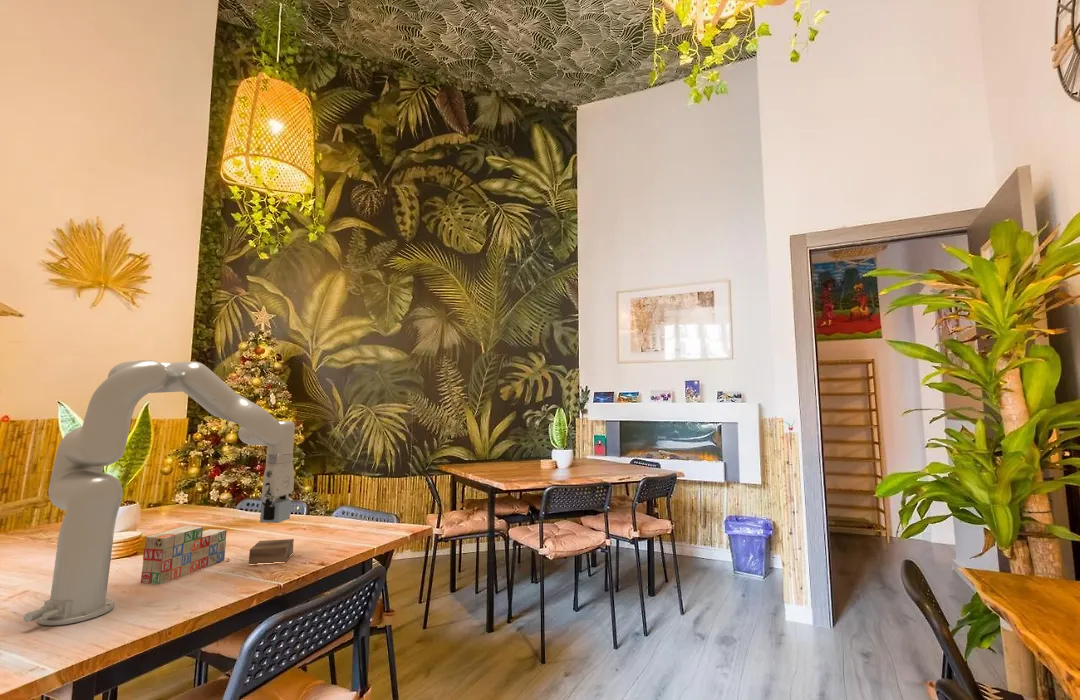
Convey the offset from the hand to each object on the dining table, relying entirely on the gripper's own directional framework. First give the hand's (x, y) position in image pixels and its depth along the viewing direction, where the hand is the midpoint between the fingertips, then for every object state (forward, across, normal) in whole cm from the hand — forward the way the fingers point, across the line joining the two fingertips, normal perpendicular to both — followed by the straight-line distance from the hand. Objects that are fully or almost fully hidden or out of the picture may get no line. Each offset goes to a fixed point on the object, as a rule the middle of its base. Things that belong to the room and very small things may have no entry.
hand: (275, 516), depth 152 cm
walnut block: (+13, 0, 0) cm, 13 cm away
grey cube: (+1, 0, 0) cm, 1 cm away
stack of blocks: (+13, -13, +18) cm, 26 cm away
